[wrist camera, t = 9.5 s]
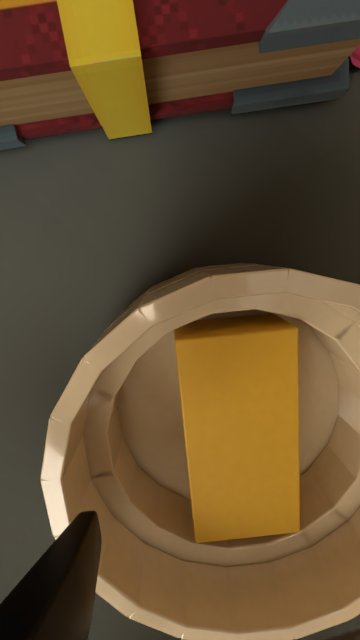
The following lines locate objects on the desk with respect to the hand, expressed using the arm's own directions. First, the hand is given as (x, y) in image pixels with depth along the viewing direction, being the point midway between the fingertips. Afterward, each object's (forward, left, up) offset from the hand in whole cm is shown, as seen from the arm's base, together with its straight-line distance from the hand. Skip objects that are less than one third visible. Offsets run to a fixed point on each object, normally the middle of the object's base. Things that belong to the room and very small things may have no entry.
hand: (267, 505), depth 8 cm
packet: (0, 0, -5) cm, 5 cm away
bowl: (0, 0, -6) cm, 6 cm away
